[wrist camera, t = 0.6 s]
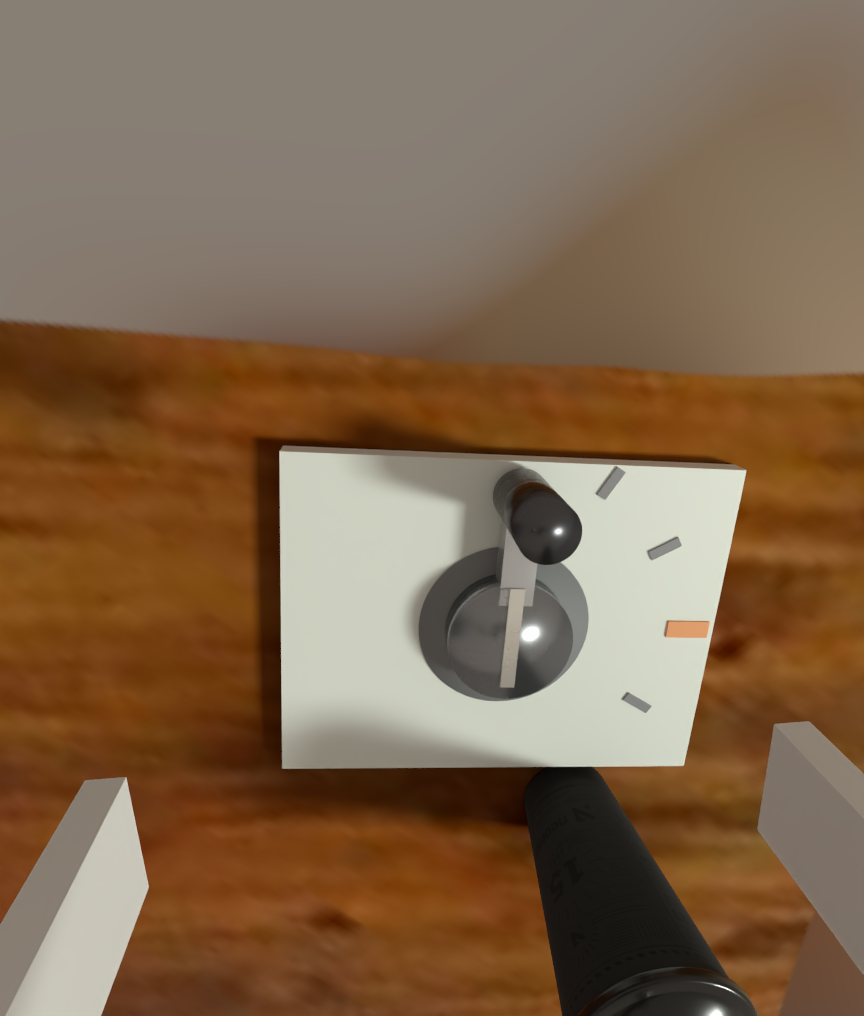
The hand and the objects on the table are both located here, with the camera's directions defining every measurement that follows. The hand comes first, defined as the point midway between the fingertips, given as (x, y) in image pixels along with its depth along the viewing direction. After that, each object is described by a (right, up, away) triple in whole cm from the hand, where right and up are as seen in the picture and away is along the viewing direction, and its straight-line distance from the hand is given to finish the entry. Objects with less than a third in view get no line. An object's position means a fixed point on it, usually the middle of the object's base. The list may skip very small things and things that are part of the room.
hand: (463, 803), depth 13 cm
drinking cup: (+7, -11, +25) cm, 28 cm away
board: (+3, 0, +21) cm, 21 cm away
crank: (+3, +3, +18) cm, 19 cm away
